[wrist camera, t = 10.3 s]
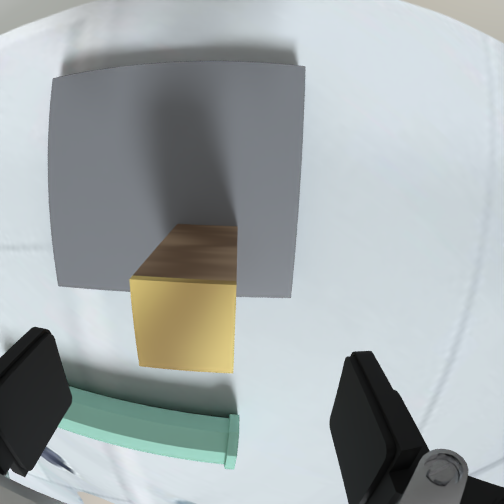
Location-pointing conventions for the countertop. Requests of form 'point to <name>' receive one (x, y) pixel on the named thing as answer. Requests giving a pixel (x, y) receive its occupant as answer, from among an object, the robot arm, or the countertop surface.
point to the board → (175, 167)
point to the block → (187, 300)
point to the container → (153, 428)
